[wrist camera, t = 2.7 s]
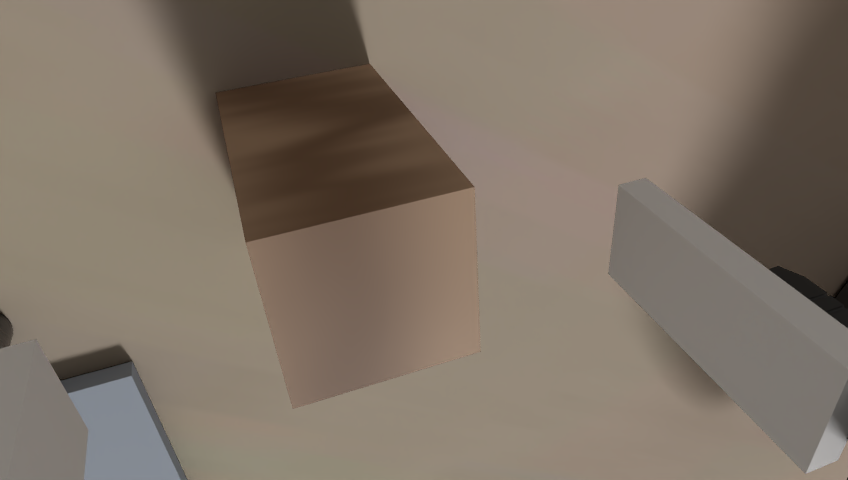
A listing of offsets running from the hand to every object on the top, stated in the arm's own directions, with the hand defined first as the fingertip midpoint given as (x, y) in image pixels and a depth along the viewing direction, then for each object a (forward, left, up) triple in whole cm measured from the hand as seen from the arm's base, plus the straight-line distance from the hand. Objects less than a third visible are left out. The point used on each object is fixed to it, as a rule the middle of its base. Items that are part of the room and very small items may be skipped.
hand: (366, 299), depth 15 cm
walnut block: (0, 0, -9) cm, 9 cm away
